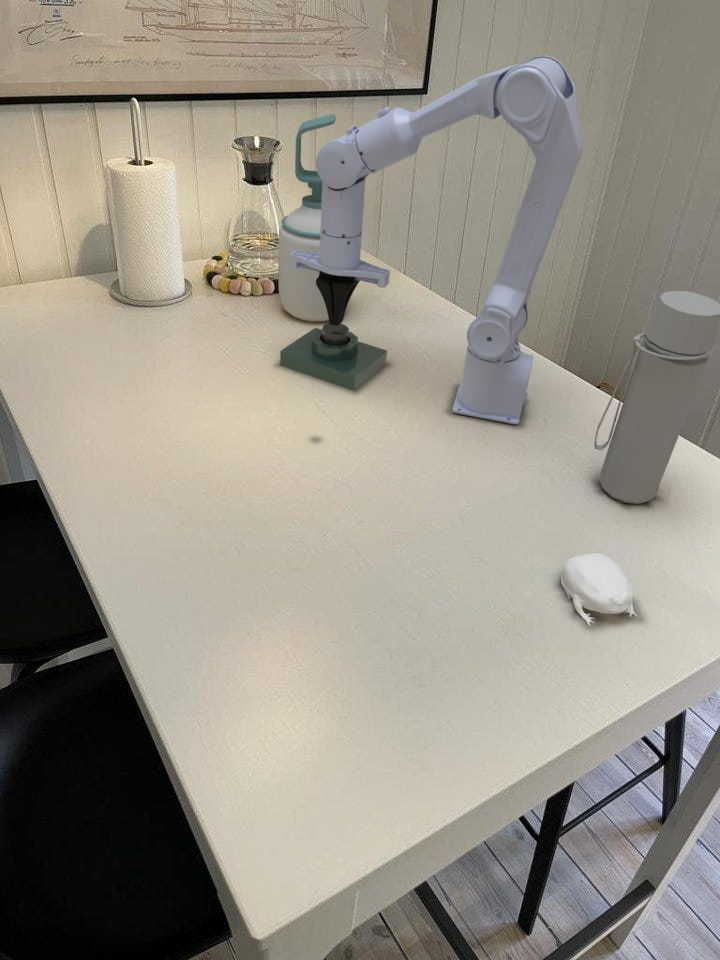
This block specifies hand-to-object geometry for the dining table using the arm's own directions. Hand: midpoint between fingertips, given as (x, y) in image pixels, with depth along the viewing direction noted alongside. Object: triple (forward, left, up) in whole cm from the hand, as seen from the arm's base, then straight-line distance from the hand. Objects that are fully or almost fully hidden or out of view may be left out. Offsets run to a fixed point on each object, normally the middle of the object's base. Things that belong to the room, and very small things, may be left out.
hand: (336, 322), depth 111 cm
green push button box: (0, 0, -7) cm, 7 cm away
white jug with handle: (+9, -18, -7) cm, 21 cm away
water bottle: (-42, +17, -7) cm, 47 cm away
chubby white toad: (-40, +38, -7) cm, 56 cm away
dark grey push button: (0, 0, -3) cm, 3 cm away
